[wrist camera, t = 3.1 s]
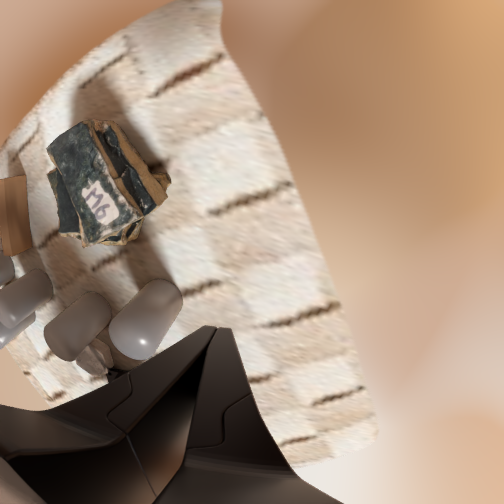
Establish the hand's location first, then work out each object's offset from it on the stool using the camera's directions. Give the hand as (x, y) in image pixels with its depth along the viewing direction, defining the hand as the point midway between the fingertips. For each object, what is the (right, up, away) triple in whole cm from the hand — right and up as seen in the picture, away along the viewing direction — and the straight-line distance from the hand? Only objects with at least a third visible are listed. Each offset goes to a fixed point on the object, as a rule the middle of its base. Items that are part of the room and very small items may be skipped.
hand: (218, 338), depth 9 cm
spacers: (-16, -2, +16) cm, 23 cm away
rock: (-10, +8, +13) cm, 18 cm away
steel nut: (-15, -7, +18) cm, 24 cm away
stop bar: (-21, +7, +14) cm, 26 cm away
